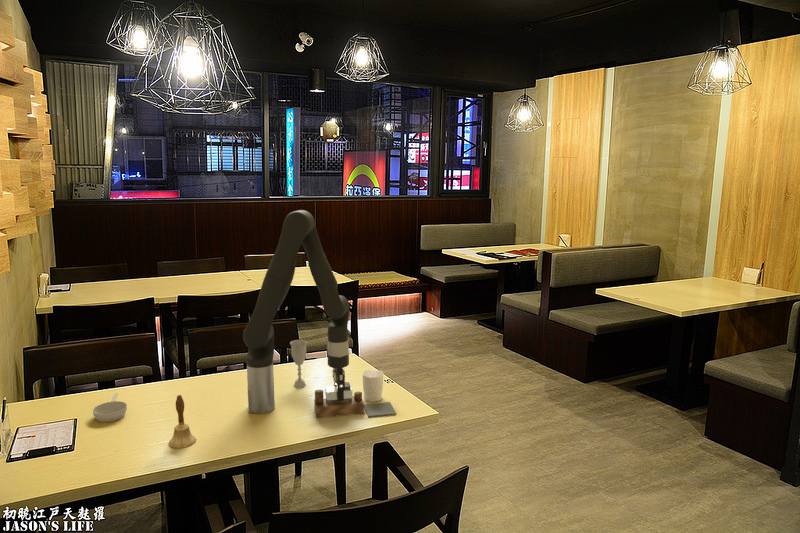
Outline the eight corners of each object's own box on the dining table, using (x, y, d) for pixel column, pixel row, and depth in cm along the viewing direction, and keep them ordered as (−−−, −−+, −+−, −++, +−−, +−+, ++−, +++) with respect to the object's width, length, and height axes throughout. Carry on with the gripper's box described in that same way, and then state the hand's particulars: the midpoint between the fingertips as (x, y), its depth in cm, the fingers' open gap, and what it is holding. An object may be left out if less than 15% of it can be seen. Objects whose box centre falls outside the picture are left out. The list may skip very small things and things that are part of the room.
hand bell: (200, 442, 187) (197, 395, 184) (175, 451, 181) (171, 403, 178) (189, 433, 193) (186, 388, 190) (164, 441, 187) (160, 395, 184)
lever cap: (327, 400, 205) (326, 389, 204) (325, 394, 210) (325, 383, 209) (352, 398, 207) (352, 386, 206) (350, 392, 212) (349, 381, 211)
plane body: (316, 418, 204) (315, 395, 202) (314, 410, 211) (313, 387, 209) (364, 413, 208) (363, 391, 206) (360, 405, 215) (360, 383, 213)
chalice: (290, 383, 236) (288, 340, 232) (307, 381, 238) (305, 339, 234) (292, 389, 229) (291, 346, 226) (309, 387, 231) (308, 344, 228)
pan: (90, 425, 198) (89, 414, 198) (101, 404, 215) (100, 394, 215) (124, 421, 201) (123, 411, 201) (132, 400, 218) (132, 391, 218)
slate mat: (368, 417, 205) (368, 415, 205) (363, 405, 214) (363, 404, 214) (396, 414, 207) (396, 413, 207) (390, 403, 217) (390, 401, 217)
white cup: (382, 402, 217) (382, 377, 216) (361, 402, 218) (361, 377, 216) (383, 394, 225) (383, 369, 223) (363, 393, 225) (363, 369, 224)
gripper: (325, 346, 211) (326, 389, 214) (330, 359, 198) (331, 405, 201) (345, 345, 213) (346, 387, 216) (351, 358, 199) (352, 403, 202)
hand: (339, 395), depth 208 cm, fingers open, 7 cm apart
